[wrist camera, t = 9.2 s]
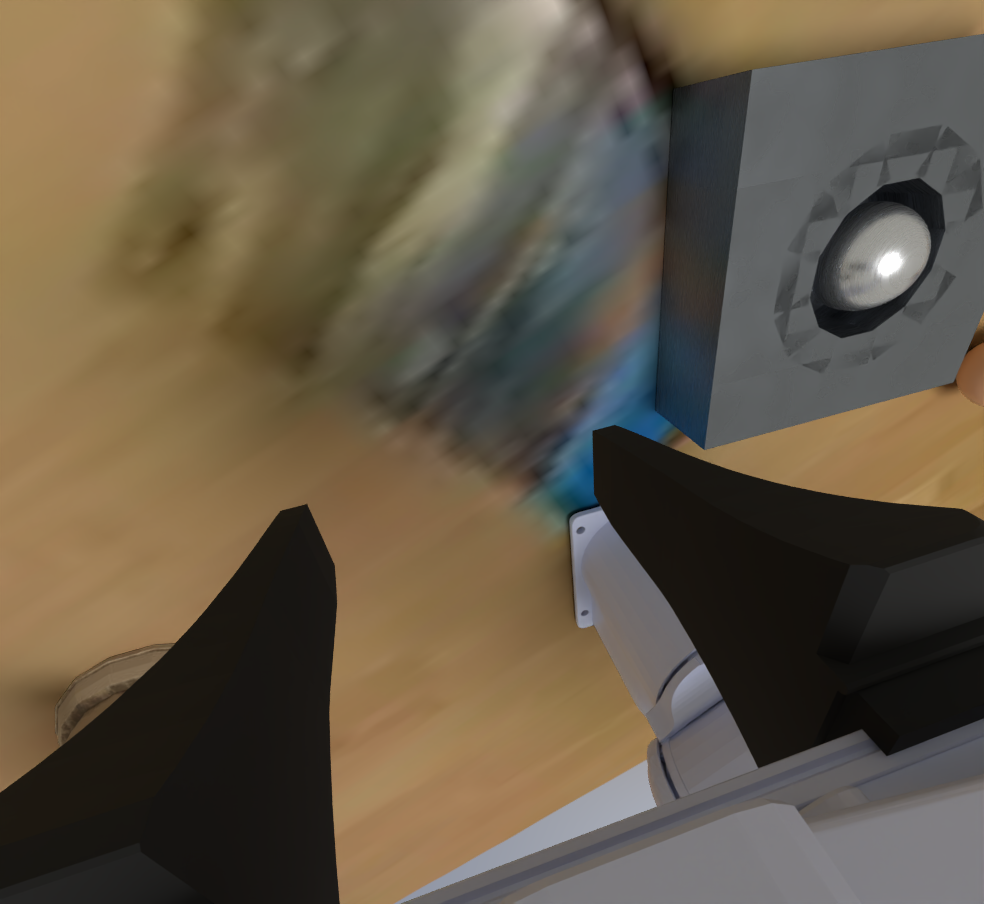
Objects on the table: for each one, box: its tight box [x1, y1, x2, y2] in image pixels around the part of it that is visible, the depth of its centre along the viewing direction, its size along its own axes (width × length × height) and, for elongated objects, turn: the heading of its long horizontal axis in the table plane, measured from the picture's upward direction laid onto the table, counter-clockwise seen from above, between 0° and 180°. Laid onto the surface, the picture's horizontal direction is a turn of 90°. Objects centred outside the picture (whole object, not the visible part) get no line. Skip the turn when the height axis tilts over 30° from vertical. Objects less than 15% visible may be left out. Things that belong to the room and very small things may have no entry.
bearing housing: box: [655, 34, 984, 450], centre depth 20 cm, size 13×13×4 cm
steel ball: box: [811, 201, 931, 311], centre depth 19 cm, size 4×4×4 cm
